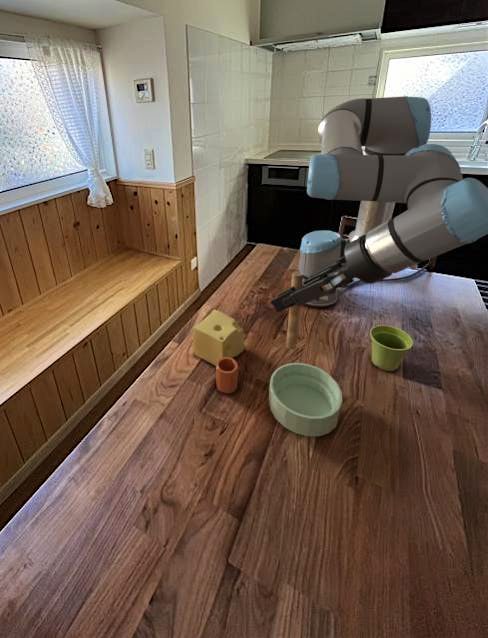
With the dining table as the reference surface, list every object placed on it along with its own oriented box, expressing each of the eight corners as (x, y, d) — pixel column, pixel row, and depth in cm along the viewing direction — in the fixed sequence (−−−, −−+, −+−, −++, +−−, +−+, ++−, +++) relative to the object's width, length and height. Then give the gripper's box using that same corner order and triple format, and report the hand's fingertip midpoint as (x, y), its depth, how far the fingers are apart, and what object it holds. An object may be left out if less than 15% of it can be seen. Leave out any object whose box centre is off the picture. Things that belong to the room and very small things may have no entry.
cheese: (244, 350, 95) (245, 321, 91) (222, 373, 87) (222, 343, 83) (215, 335, 101) (214, 308, 97) (192, 355, 94) (190, 327, 90)
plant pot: (411, 379, 83) (419, 351, 80) (370, 374, 85) (376, 347, 81) (397, 352, 91) (404, 326, 88) (360, 348, 93) (365, 323, 90)
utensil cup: (227, 374, 87) (227, 353, 84) (241, 388, 83) (242, 366, 80) (212, 384, 84) (211, 363, 82) (225, 398, 80) (225, 376, 78)
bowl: (297, 371, 87) (299, 353, 84) (352, 413, 75) (356, 393, 73) (255, 401, 79) (256, 382, 77) (309, 452, 68) (312, 432, 65)
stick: (290, 342, 73) (297, 269, 66) (297, 347, 72) (305, 273, 65) (284, 346, 72) (290, 273, 65) (291, 351, 71) (298, 277, 64)
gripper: (381, 293, 48) (270, 337, 65) (406, 256, 58) (305, 302, 75) (347, 250, 49) (248, 304, 66) (378, 220, 59) (285, 274, 76)
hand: (278, 303), depth 70 cm, fingers closed on stick, 2 cm apart
